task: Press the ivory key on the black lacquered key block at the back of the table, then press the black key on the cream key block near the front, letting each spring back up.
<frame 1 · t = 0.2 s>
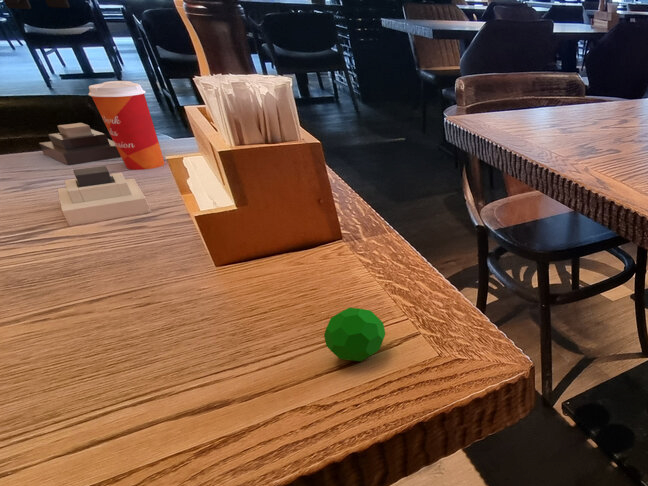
hand: (40, 7, 92), 25 cm above the table, tool pointing down, fingers open, 9 cm apart
paper cup: (146, 166, 97), on the table
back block: (86, 155, 101), on the table
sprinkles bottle: (145, 155, 103), on the table
polyhedron: (360, 357, 49), on the table
back key: (75, 131, 98), point 5 cm above the table, slide at 0.1 cm
front block: (107, 207, 78), on the table
front key: (93, 177, 76), point 5 cm above the table, slide at 0.1 cm
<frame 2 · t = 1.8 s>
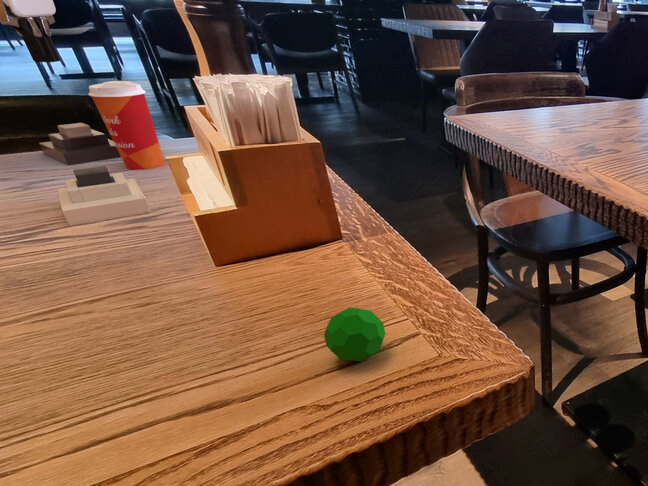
hand: (47, 61, 93), 17 cm above the table, tool pointing down, fingers closed
nothing on the table moved.
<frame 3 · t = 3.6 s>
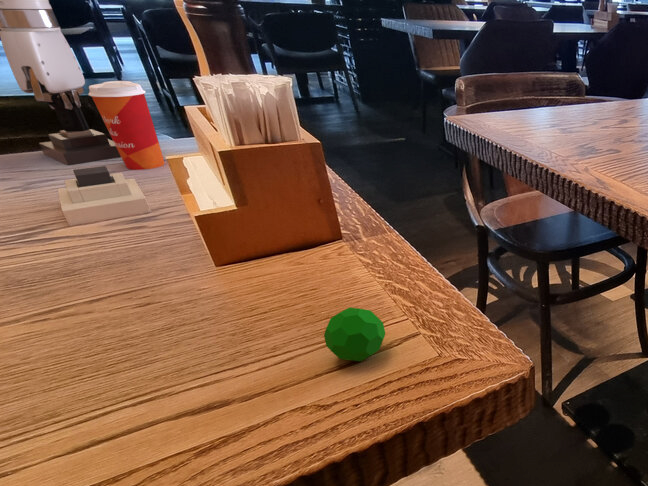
hand: (77, 130, 98), 5 cm above the table, tool pointing down, fingers closed
back key: (77, 136, 99), point 4 cm above the table, slide at -0.9 cm, touching gripper
everything else where it was.
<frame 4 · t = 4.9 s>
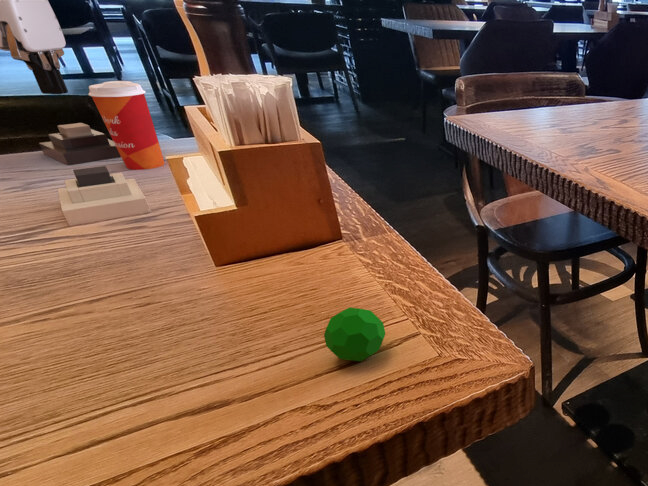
hand: (55, 93, 95), 11 cm above the table, tool pointing down, fingers closed
back key: (75, 131, 98), point 5 cm above the table, slide at 0.1 cm
everything else where it was.
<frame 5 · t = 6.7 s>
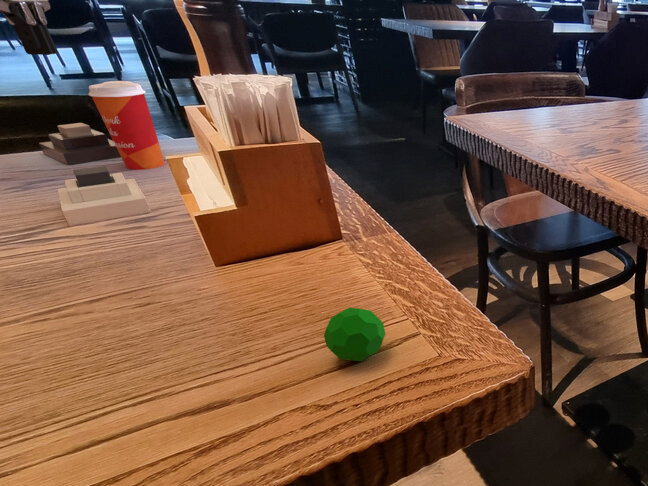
hand: (42, 53, 80), 19 cm above the table, tool pointing down, fingers closed
nothing on the table moved.
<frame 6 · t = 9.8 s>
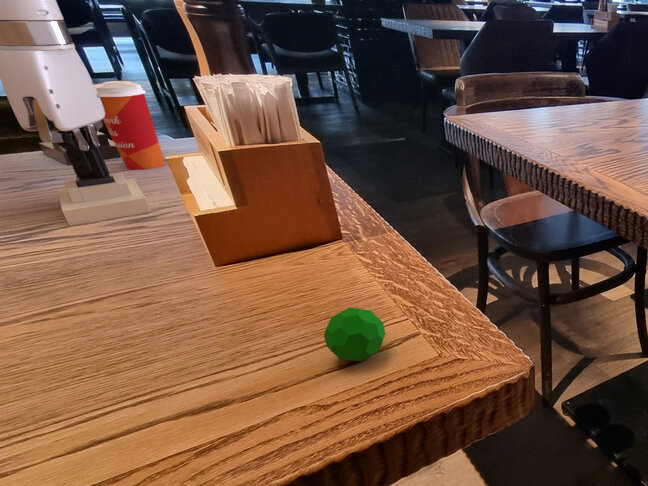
hand: (94, 176, 76), 5 cm above the table, tool pointing down, fingers closed
front key: (96, 183, 76), point 4 cm above the table, slide at -0.8 cm, touching gripper
everything else where it was.
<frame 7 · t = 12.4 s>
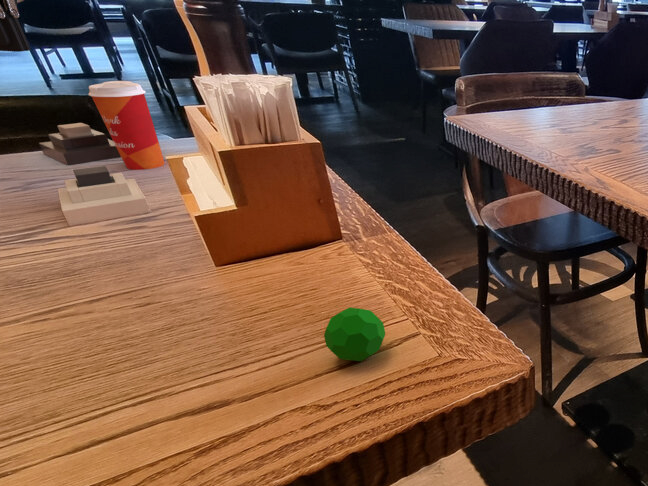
hand: (13, 50, 71), 21 cm above the table, tool pointing down, fingers closed
front key: (93, 177, 76), point 5 cm above the table, slide at 0.1 cm
everything else where it was.
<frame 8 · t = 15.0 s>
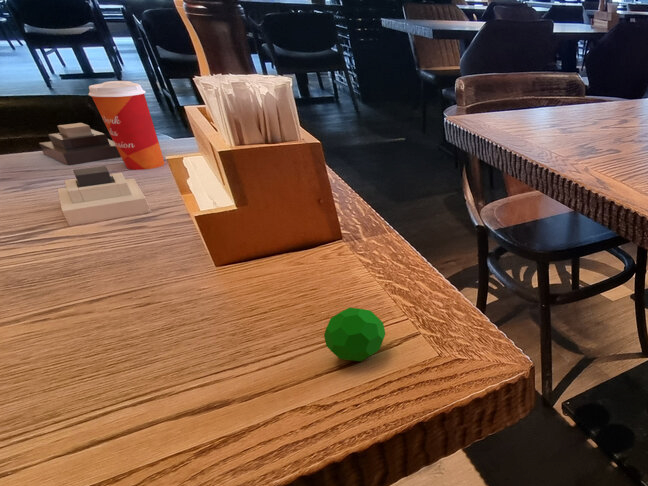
nothing on the table moved.
at the end: back key pushed in 1.1 cm at the most during the clip, back to where it started at the end; front key pushed in 1.1 cm at the most during the clip, back to where it started at the end; front key slide at 0.1 cm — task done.
